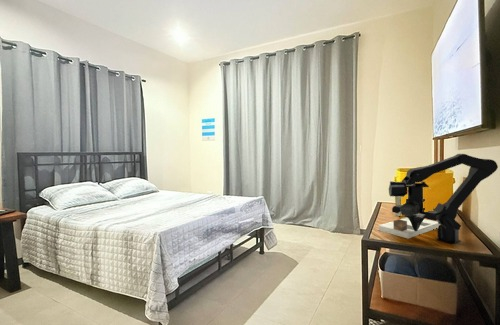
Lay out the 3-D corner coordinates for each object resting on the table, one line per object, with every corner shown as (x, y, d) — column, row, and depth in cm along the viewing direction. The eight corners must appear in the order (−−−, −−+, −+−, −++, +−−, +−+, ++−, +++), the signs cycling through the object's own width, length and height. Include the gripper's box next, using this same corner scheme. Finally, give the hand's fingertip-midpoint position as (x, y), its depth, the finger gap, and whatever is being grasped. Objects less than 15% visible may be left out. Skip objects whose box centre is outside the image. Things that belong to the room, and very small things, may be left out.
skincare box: (406, 214, 153) (405, 194, 153) (409, 216, 149) (409, 196, 148) (394, 214, 154) (394, 195, 153) (398, 216, 150) (398, 196, 149)
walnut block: (406, 229, 119) (406, 221, 119) (401, 231, 117) (401, 222, 117) (398, 227, 123) (398, 219, 123) (393, 228, 121) (393, 220, 121)
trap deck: (440, 227, 128) (440, 222, 128) (408, 238, 115) (408, 233, 115) (410, 220, 141) (410, 216, 141) (378, 230, 127) (378, 225, 127)
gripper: (384, 196, 118) (385, 229, 118) (428, 202, 101) (428, 240, 102) (398, 193, 123) (399, 224, 124) (442, 199, 106) (443, 235, 107)
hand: (415, 231), depth 114 cm, fingers closed
